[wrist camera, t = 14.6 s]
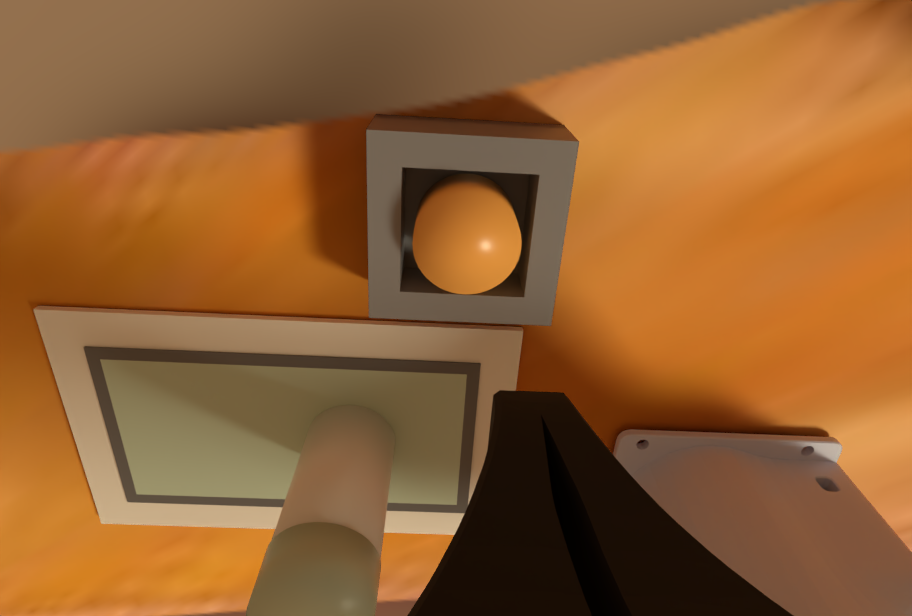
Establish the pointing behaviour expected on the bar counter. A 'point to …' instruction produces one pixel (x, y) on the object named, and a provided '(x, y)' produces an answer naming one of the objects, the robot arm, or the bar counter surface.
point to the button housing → (466, 152)
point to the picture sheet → (269, 408)
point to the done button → (466, 234)
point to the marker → (331, 521)
